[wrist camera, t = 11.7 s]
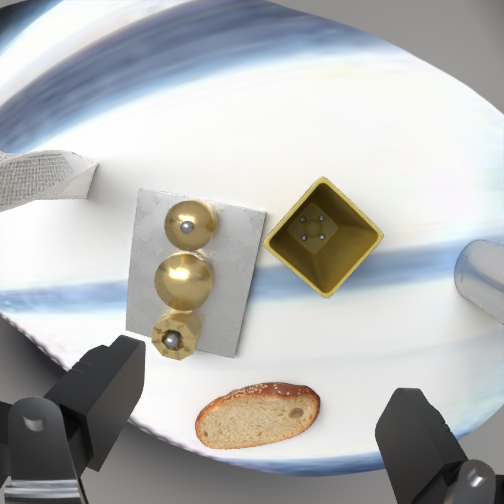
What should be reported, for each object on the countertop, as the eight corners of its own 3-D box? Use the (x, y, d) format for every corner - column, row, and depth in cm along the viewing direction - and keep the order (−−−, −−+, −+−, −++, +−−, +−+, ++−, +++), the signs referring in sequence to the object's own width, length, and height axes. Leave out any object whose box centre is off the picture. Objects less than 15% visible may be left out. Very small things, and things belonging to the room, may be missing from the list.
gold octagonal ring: (203, 314, 39) (197, 326, 36) (197, 349, 41) (192, 363, 37) (162, 304, 39) (153, 315, 36) (159, 339, 41) (151, 352, 37)
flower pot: (310, 176, 36) (322, 173, 27) (360, 223, 37) (386, 236, 28) (262, 230, 38) (260, 244, 29) (314, 275, 39) (326, 301, 30)
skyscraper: (52, 189, 38) (-108, 214, 11) (67, 141, 36) (-98, 129, 9) (90, 208, 38) (-84, 251, 11) (106, 157, 37) (-75, 148, 9)
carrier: (265, 212, 37) (265, 217, 32) (234, 353, 42) (230, 376, 36) (143, 188, 37) (124, 189, 32) (128, 326, 42) (112, 343, 36)
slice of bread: (191, 435, 47) (187, 449, 43) (213, 360, 43) (209, 374, 39) (287, 457, 47) (287, 472, 43) (328, 389, 43) (332, 404, 39)
